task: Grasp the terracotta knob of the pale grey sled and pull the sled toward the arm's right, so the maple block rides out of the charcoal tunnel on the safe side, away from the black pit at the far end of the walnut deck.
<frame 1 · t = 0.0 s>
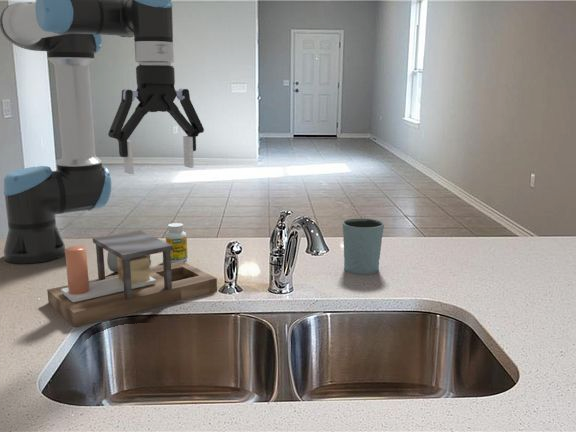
hand: (160, 170, 123), 28 cm above the worktop, fingers open, 13 cm apart
ceramic mug: (132, 271, 147), on the worktop
sled: (108, 265, 124), point 8 cm above the worktop, slide at 0.0 cm, touching maple block
supplement bottle: (177, 260, 155), on the worktop
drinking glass: (361, 269, 149), on the worktop
maple block: (134, 278, 128), point 4 cm above the worktop, touching sled
tunnel deck: (135, 296, 129), on the worktop
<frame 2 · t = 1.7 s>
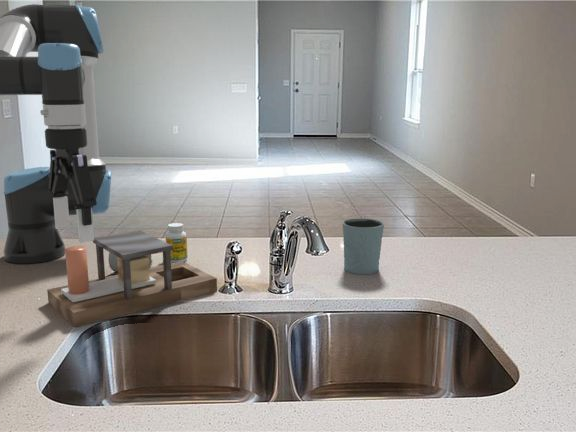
hand: (74, 234, 118), 16 cm above the worktop, fingers open, 13 cm apart
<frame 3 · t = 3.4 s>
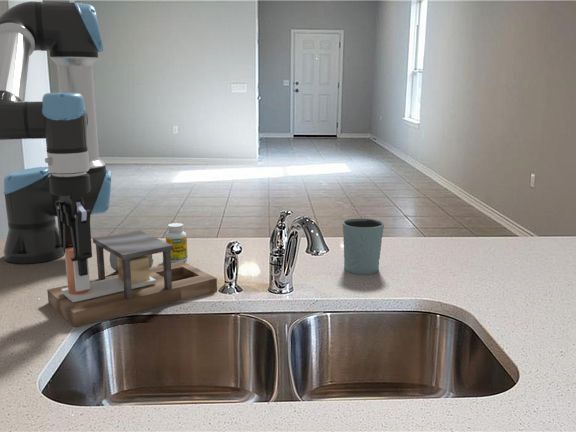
hand: (78, 286, 121), 5 cm above the worktop, fingers closed on sled, 4 cm apart
sled: (108, 265, 124), point 8 cm above the worktop, slide at 0.0 cm, touching gripper, maple block
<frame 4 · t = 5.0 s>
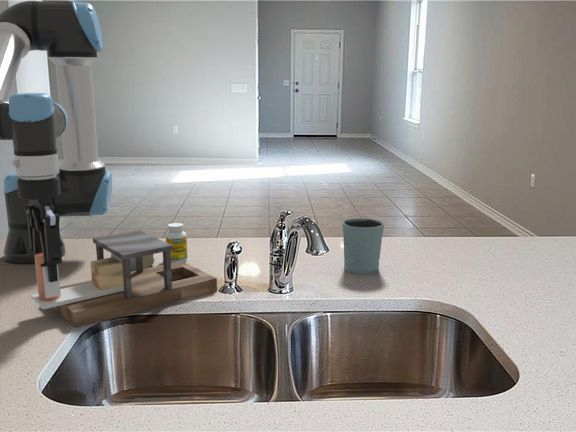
hand: (49, 292, 117), 5 cm above the worktop, fingers closed on sled, 4 cm apart
sled: (80, 271, 120), point 8 cm above the worktop, slide at 5.9 cm, touching gripper, maple block
maple block: (108, 284, 125), point 4 cm above the worktop, touching sled
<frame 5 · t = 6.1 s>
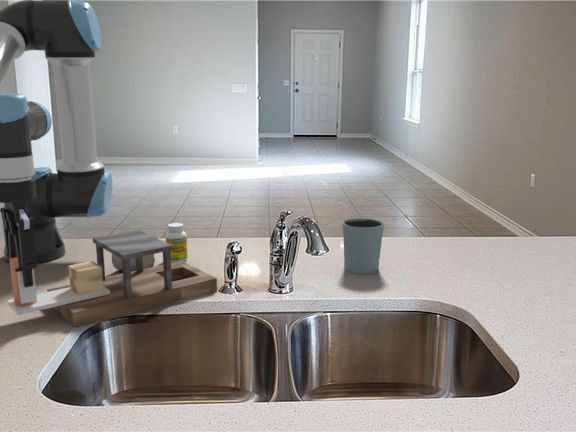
hand: (25, 297, 114), 5 cm above the worktop, fingers closed on sled, 4 cm apart
sled: (58, 275, 118), point 8 cm above the worktop, slide at 10.4 cm, touching gripper, maple block
maple block: (86, 289, 122), point 4 cm above the worktop, touching sled
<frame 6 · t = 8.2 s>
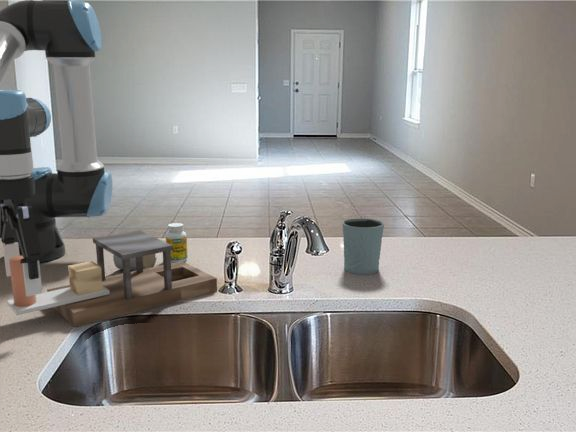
hand: (23, 284, 114), 8 cm above the worktop, fingers open, 13 cm apart
sled: (57, 276, 118), point 8 cm above the worktop, slide at 10.5 cm, touching maple block
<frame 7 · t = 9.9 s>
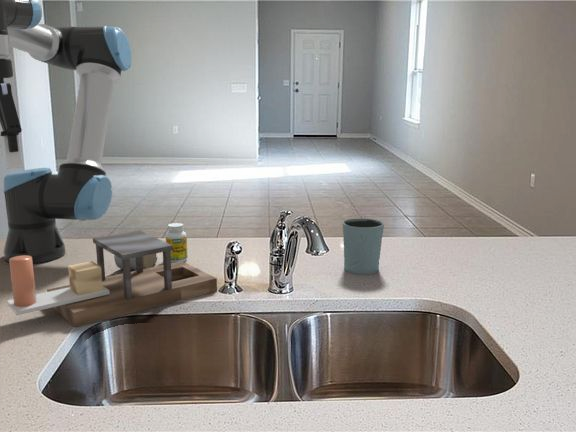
hand: (4, 163, 123), 29 cm above the worktop, fingers open, 13 cm apart
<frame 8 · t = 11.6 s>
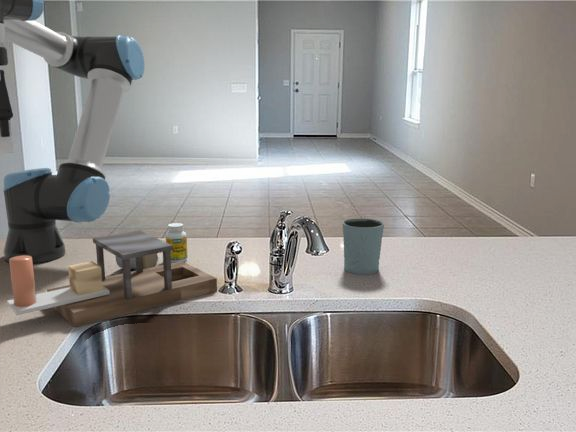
at the end: sled slide at 10.5 cm; maple block inside the target area on the tunnel deck (1.0 cm from its centre), point 4.1 cm above the tunnel deck's base; maple block tilted 0° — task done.
